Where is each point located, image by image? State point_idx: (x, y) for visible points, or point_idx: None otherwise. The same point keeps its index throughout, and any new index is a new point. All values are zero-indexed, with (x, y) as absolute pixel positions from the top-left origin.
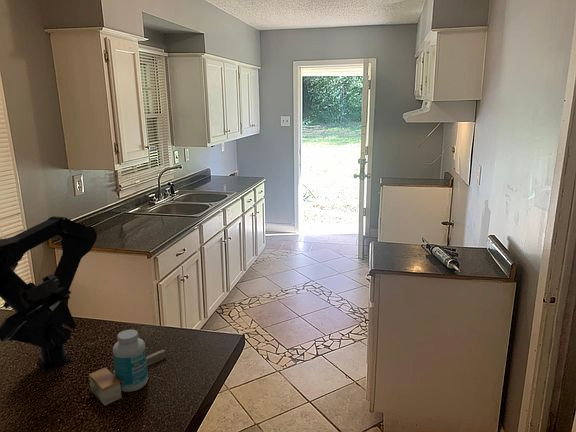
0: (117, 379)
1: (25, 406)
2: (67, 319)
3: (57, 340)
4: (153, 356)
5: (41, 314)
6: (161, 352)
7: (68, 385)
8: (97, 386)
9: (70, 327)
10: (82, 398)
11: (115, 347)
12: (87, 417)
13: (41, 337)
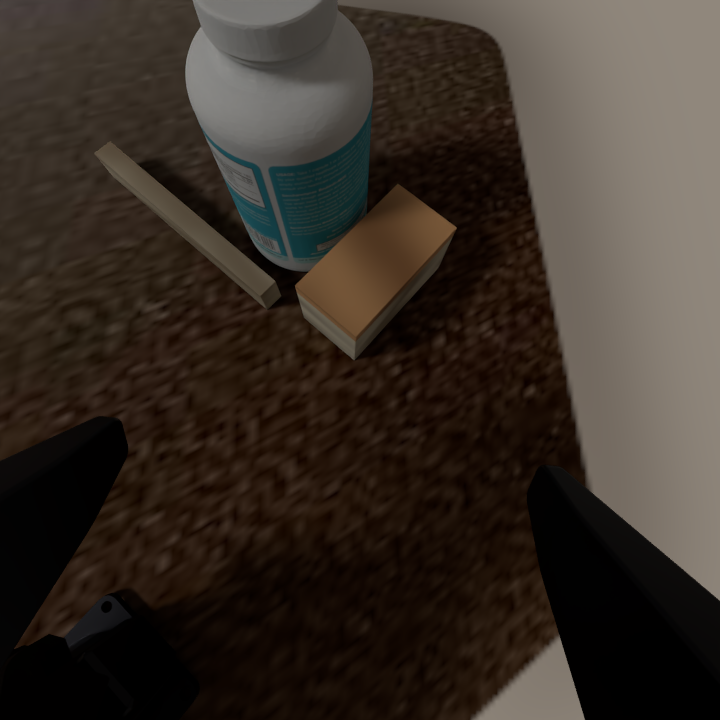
0: (388, 195)
1: (480, 588)
2: (13, 535)
3: (69, 694)
4: (149, 176)
5: None
6: (120, 153)
7: (324, 477)
8: (416, 276)
9: (111, 485)
10: (405, 368)
11: (330, 98)
12: (503, 297)
13: (646, 567)
